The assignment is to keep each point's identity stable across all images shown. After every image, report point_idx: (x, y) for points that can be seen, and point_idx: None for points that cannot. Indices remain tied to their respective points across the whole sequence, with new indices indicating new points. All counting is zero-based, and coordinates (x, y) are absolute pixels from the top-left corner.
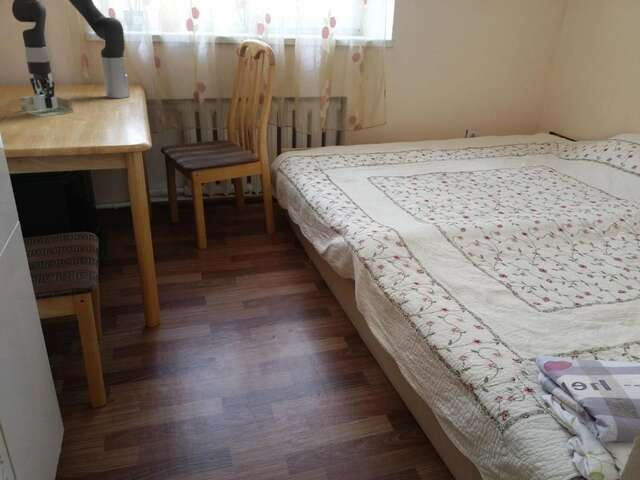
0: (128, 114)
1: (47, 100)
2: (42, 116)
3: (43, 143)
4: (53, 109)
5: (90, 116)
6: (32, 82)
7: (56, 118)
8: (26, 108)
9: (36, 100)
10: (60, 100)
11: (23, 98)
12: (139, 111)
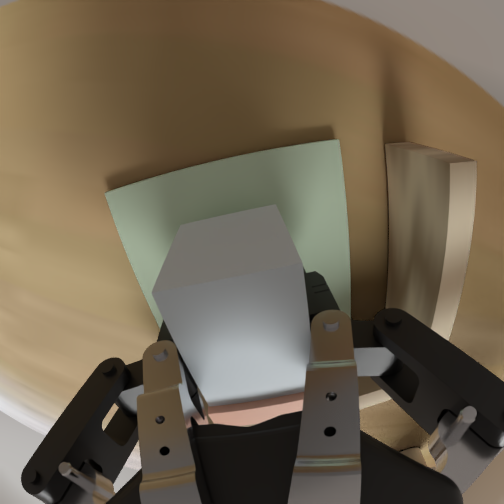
0: None
1: (161, 337)
2: (111, 207)
3: None
4: None
5: (81, 386)
6: (468, 408)
7: (56, 267)
8: (397, 170)
9: (208, 255)
10: None
11: (446, 182)
12: None
